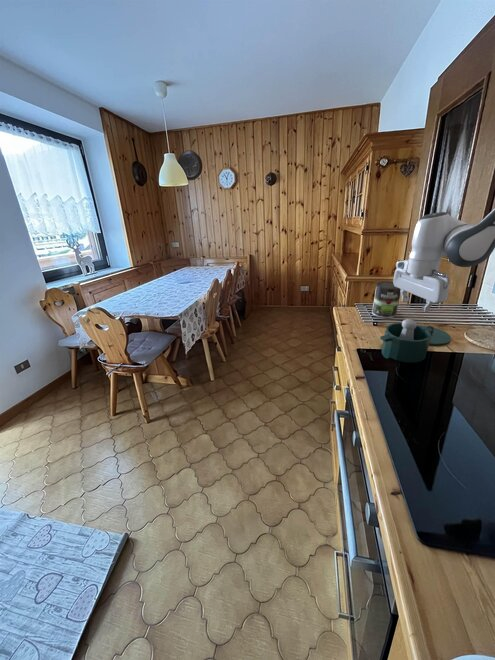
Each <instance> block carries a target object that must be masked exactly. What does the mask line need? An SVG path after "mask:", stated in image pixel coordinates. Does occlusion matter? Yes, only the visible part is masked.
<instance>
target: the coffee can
mask: <svg viewBox="0 0 495 660" xmlns="http://www.w3.org/2000/svg"><path fill="white" fill-rule="evenodd" d="M400 291H401V289H400V288H398V287H395V286H394V284H393V281H388V280H385V281H383V280H382V281H378V282H376V284H375V292H374V299H373V303H372V304H373V305H372V310H371V314H372V315H373V316H374V317H376V318H380V319H393V318H395V317H396V316H397V311H398V306H399V301H400V297H401V292H400Z"/></svg>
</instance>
